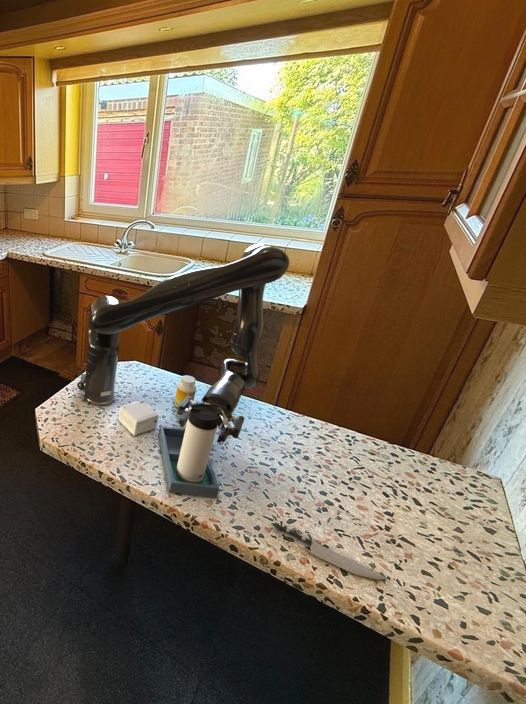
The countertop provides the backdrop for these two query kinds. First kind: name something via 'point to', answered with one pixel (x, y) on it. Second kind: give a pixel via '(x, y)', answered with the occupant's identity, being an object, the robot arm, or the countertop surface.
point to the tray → (171, 452)
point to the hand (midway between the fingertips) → (200, 431)
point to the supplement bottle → (185, 389)
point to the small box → (138, 417)
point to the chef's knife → (333, 556)
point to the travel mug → (197, 442)
